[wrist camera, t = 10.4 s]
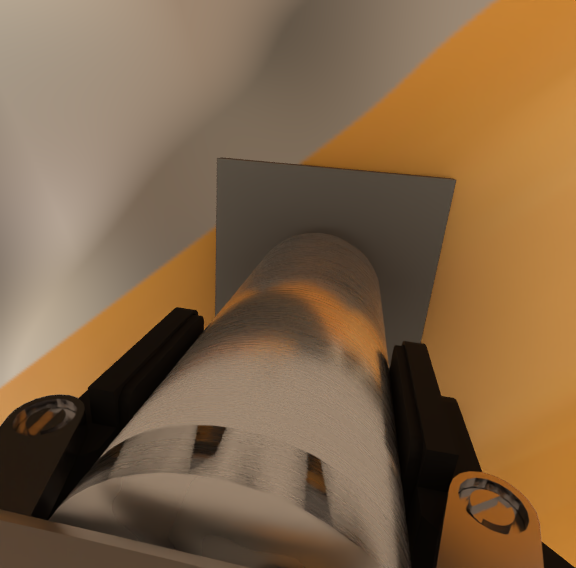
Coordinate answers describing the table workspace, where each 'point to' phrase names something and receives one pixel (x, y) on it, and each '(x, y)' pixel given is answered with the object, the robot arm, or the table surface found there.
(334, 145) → the table surface
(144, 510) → the cover plug
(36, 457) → the robot arm
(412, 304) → the mat
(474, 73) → the table surface
